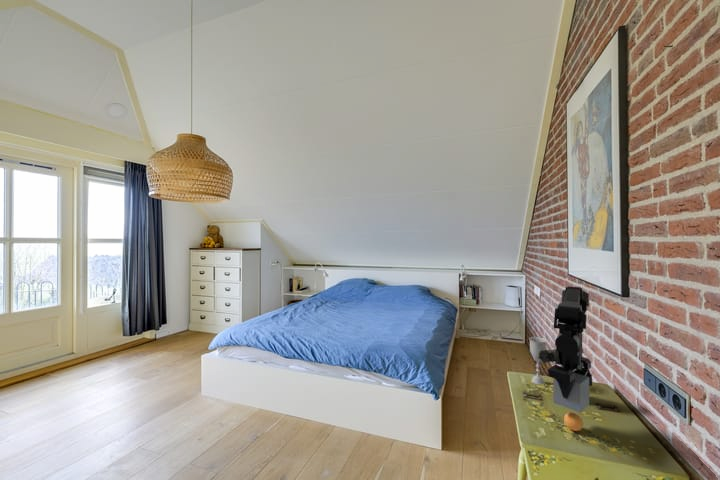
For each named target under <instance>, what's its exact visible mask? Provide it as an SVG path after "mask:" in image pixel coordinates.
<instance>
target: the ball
mask: <svg viewBox="0 0 720 480" xmlns="http://www.w3.org/2000/svg"><path fill="white" fill-rule="evenodd" d="M563 420H564V421H563V422H564V424H565V426H567V428H568V429H570V430H571V431H575V432H579V431H581V430H582V429H583V428H584V422H583V419H582V418H581V416H580V415H579V414H576V413H575V412H568V413H565V415H564V417H563Z"/></svg>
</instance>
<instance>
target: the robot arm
mask: <svg viewBox="0 0 720 480" xmlns="http://www.w3.org/2000/svg"><path fill="white" fill-rule="evenodd" d="M588 307H590V294H589V293H588V292H587V291H584V290H583V287H580V286H571V285H570V286H565V289H564V290H562V292H561V302H559V303H558V305H557V307H555V309H554V319H553V320H554V321H553V329H556V330H557V329H558V334H557V336H556V338H555V340H554V346H555V348H554V349H546V350H544V351H543V350H541V351H540V353H539V359H540V360H541V362H542V363H543V364H546V363H553V362H554V363H555V364H554V365H552V366H551V367H549V368H548V369H547V374H546V375H547V377H550V378H554V379H556V380H557V382H558V384H559V387H560V390H561V392H562V395H563V398H566V399H567V398H568V396H569V394H570V392H571V389H572V387H573V385H574V383H575V379H574V373H577V374H580V375H584V376H587V377H589V388H590V387H592V386H593V375H592V373H591V372H590V369H591V368H592V361H591V360H590V359H589V358H588V357H584V356H583V353H584V348H583V333H584V330H586V329H587V314H586V313H587V311H588Z"/></svg>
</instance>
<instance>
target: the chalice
mask: <svg viewBox="0 0 720 480" xmlns="http://www.w3.org/2000/svg"><path fill="white" fill-rule="evenodd" d="M528 340H529V351H530V354H531V356H532V358H533V360H534V361H535V362H536V365H535V367H536V369H535V372H536V374H535V376H534V375H533V377H532V378H531V380H530V381H531V382H532V383H533V384H535V385H540V386H544V385H546V382H545V379H544V378H543V377H542V376H541V375H540V372H541V370H540V368H541V365H540V363H541V362H542V361H541V360H540V359H539V353H540V351H541V350H543V351H544V350H547V342H548V340H547V339H546V338H543V337H538V336H530V337H528ZM543 384H544V385H543Z"/></svg>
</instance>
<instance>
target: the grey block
mask: <svg viewBox="0 0 720 480" xmlns="http://www.w3.org/2000/svg"><path fill="white" fill-rule="evenodd" d="M574 379H575V383H574V385H573V387H572V389H571V392H570V394H569V396H568V398H567V399H566V398H563V395H562V392H561V390H560V387H559V384H558V382H557V380H556V379H554V378H553V404H556V405H558V406H561V407H563V408H567V409H570V410H571V411H574V412H577V413H580V414H581V413H582V412H583V411H584V410H586V408H588V407H589V406H590V387H589V377H587V376H584V375H580V374H577V373H574Z"/></svg>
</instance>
